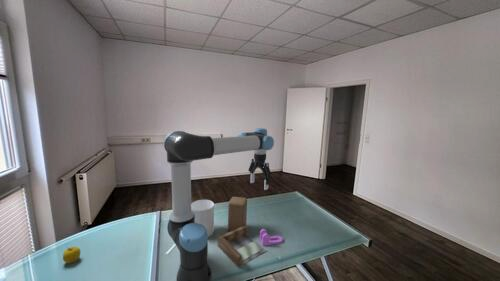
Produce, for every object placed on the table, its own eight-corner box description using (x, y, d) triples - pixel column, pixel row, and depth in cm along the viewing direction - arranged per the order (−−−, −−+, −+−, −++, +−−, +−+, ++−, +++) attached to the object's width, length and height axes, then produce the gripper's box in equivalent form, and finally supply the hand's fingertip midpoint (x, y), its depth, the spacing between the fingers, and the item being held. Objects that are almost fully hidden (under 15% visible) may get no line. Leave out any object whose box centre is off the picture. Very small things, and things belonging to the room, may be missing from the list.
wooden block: (243, 235, 119) (243, 204, 116) (227, 232, 121) (227, 202, 118) (246, 225, 129) (247, 197, 126) (232, 223, 131) (232, 195, 128)
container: (188, 228, 124) (188, 202, 122) (210, 223, 131) (210, 197, 128) (193, 241, 112) (192, 212, 109) (217, 235, 118) (217, 207, 116)
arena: (238, 268, 94) (238, 257, 93) (218, 246, 108) (218, 236, 107) (266, 251, 105) (266, 241, 105) (245, 234, 120) (245, 225, 119)
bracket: (262, 246, 110) (263, 235, 109) (259, 240, 115) (260, 229, 114) (283, 243, 113) (284, 232, 112) (280, 237, 118) (280, 226, 117)
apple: (61, 263, 94) (59, 248, 92) (78, 255, 99) (77, 241, 98) (65, 269, 90) (63, 253, 89) (83, 260, 95) (81, 246, 94)
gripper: (279, 156, 113) (277, 191, 116) (252, 149, 133) (251, 179, 136) (269, 158, 108) (268, 194, 112) (243, 150, 128) (242, 181, 131)
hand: (259, 185), depth 124 cm, fingers open, 13 cm apart
